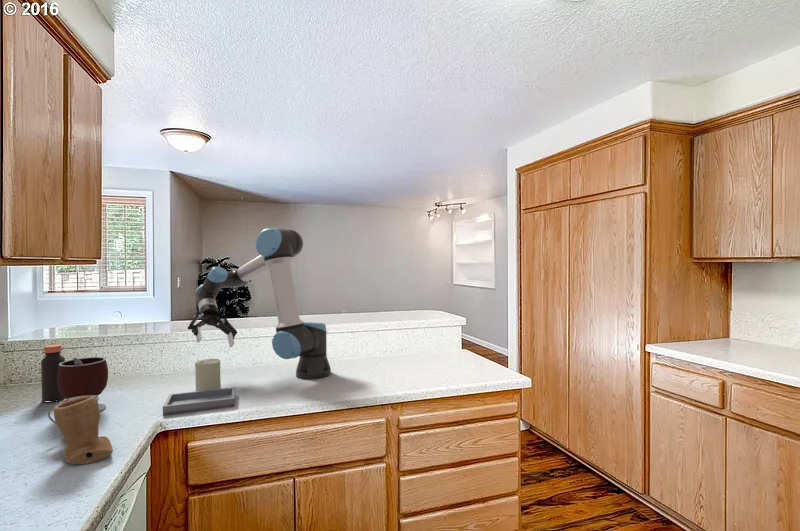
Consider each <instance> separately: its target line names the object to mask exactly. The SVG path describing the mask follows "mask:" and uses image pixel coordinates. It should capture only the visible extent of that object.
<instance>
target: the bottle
mask: <svg viewBox="0 0 800 531" xmlns="http://www.w3.org/2000/svg"><path fill="white" fill-rule="evenodd" d="M43 350H44V351H43V352H44V355H45V356H44V357H43V358H42V359H41V361H40V366H41V367H40V369H41V370H40V373H41V401H42V402H43V401H55V402H57V401H56V400H59V401H62V400H65V398H64V397H63V396H62V395H61V394H60V392H59V389H58V384H57V374H58V368H59V364H60V363H62V362H64V361H66V358H65V357H64V356H63V355H61V352H62V344H50V345H45V346H43ZM61 399H62V400H61Z"/></svg>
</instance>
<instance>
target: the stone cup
mask: <svg viewBox="0 0 800 531" xmlns="http://www.w3.org/2000/svg"><path fill="white" fill-rule="evenodd" d="M60 403H61V402H60ZM60 403H59V404H57V405H55V406H54V407H53V408H54V410H53V417H54V421H55V422H56V424H55V425H56V426H57V428H58V429H59V432H60V433H61V436H62V435H63V437H64V439H63V440H64V441H65V444H66V447H65V449H64V451H63V454H64V457H65V461H66V462H67V463H68V464H76V465H87V464H91V463H95V462H98V461H101V460H103V459H106V458H107V457H109V456H111V455H112V454H113V452H114V450H113V446H112V443H111V441H110V439H109V438H108V437H107V436H99V425H100V424H99V422H100V416H101V412H99V406H98V404H99V400H98V401H97V399H96V398H95V397H93V396H85V397H81V398H77V399H74V400H70V401H67V402H63V403H61V404H60Z"/></svg>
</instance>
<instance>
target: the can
mask: <svg viewBox="0 0 800 531" xmlns="http://www.w3.org/2000/svg"><path fill="white" fill-rule="evenodd" d="M194 370H195V373H194V374H195V391H204V390H214V389H222V386H221V385H222V384H221V359H219V358H208V359H207V358H204V359H199V360H197V361H195V362H194Z"/></svg>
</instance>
